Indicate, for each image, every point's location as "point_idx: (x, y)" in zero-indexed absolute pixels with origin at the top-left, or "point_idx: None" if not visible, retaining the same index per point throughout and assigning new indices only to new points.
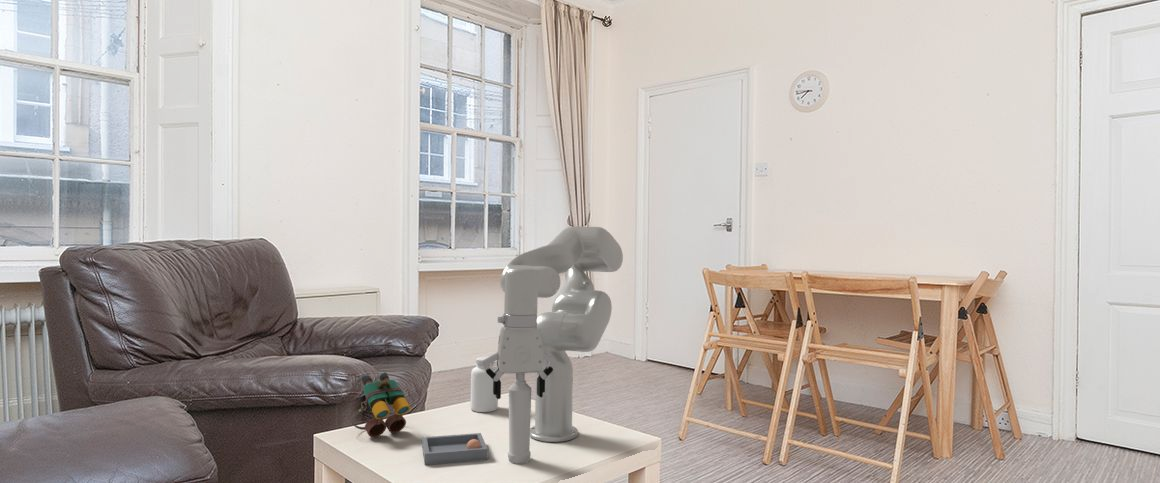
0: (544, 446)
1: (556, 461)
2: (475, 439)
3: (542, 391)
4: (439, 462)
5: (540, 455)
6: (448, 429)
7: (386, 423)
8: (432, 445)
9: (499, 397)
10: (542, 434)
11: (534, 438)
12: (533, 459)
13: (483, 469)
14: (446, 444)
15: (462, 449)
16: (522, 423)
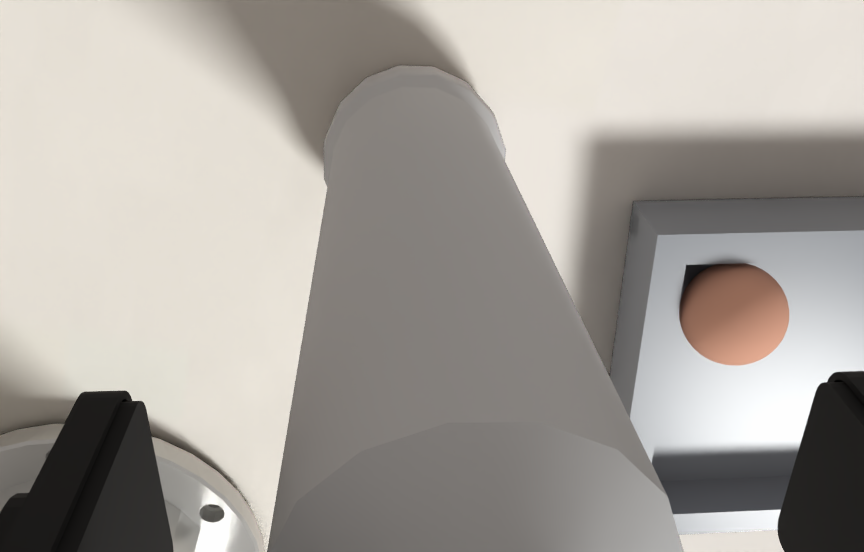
0: (183, 369)
1: (119, 51)
2: (740, 341)
3: (55, 451)
4: None
5: (235, 206)
6: None
7: None
8: None
9: (855, 381)
10: (177, 510)
11: (239, 493)
12: (300, 136)
13: (715, 14)
14: None
15: (836, 258)
16: (425, 181)
